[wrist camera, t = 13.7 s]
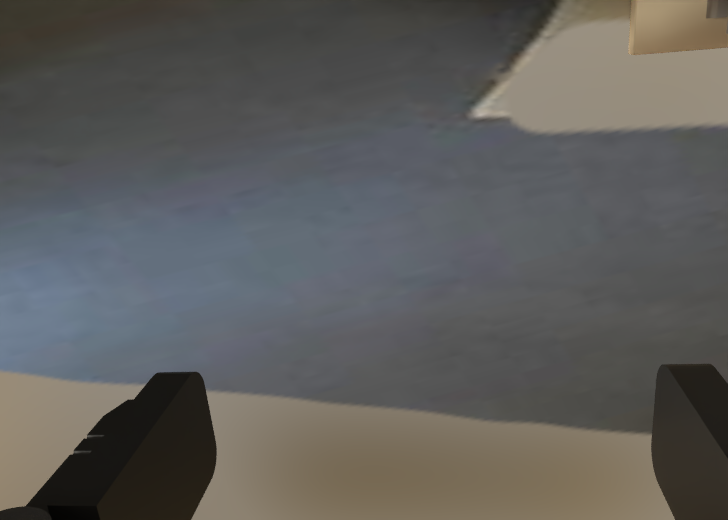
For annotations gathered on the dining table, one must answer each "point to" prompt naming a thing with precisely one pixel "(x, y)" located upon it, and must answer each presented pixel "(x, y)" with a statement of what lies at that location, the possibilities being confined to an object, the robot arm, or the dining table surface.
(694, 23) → the coupling stand
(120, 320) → the dining table surface
